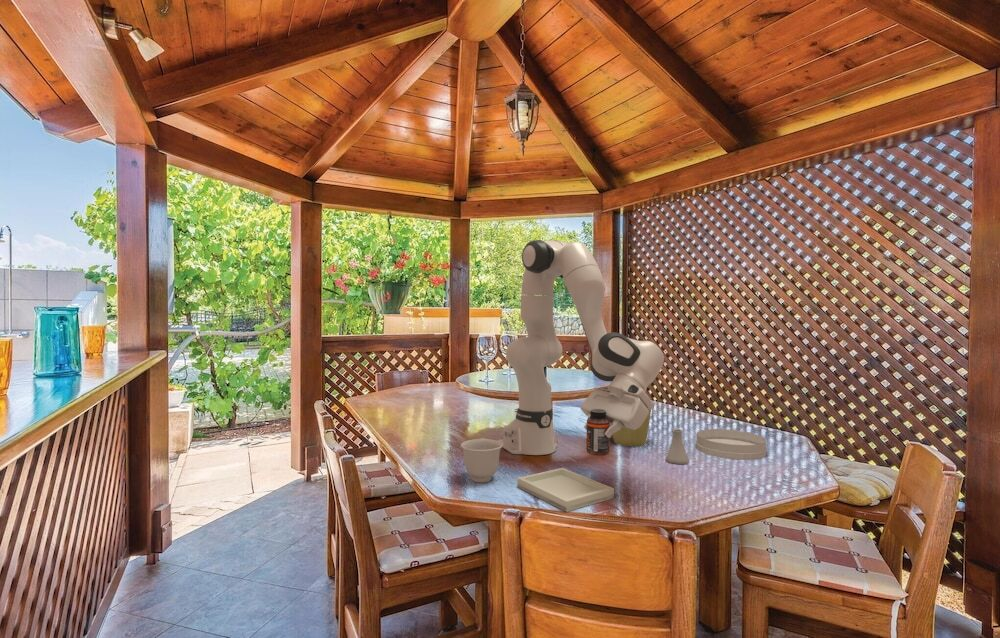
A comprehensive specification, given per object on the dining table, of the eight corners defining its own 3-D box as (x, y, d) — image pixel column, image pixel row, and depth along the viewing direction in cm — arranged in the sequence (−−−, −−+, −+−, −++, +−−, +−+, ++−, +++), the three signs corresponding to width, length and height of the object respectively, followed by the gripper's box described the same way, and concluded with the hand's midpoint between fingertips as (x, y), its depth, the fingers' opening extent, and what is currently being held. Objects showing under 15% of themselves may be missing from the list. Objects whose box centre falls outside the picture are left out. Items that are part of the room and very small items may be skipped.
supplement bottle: (583, 450, 135) (584, 408, 135) (605, 449, 136) (606, 407, 136) (589, 456, 129) (590, 412, 129) (612, 456, 130) (612, 412, 130)
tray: (517, 487, 137) (517, 477, 137) (562, 476, 146) (562, 467, 146) (566, 511, 121) (566, 501, 121) (613, 498, 129) (613, 488, 129)
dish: (683, 450, 175) (683, 435, 174) (713, 439, 189) (713, 425, 189) (750, 465, 158) (750, 449, 158) (777, 451, 173) (777, 437, 173)
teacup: (502, 469, 153) (502, 436, 152) (503, 486, 138) (503, 449, 137) (462, 469, 152) (462, 436, 152) (459, 486, 137) (459, 450, 137)
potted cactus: (631, 450, 173) (632, 362, 172) (599, 440, 186) (599, 359, 185) (661, 443, 181) (661, 360, 181) (628, 434, 194) (629, 356, 194)
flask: (691, 465, 157) (691, 433, 156) (666, 464, 158) (666, 432, 158) (687, 458, 164) (687, 428, 163) (663, 457, 165) (664, 426, 165)
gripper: (593, 379, 145) (565, 417, 140) (646, 390, 127) (616, 434, 122) (604, 394, 147) (577, 431, 142) (659, 406, 129) (630, 449, 125)
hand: (596, 432), depth 132 cm, fingers closed on supplement bottle, 6 cm apart
